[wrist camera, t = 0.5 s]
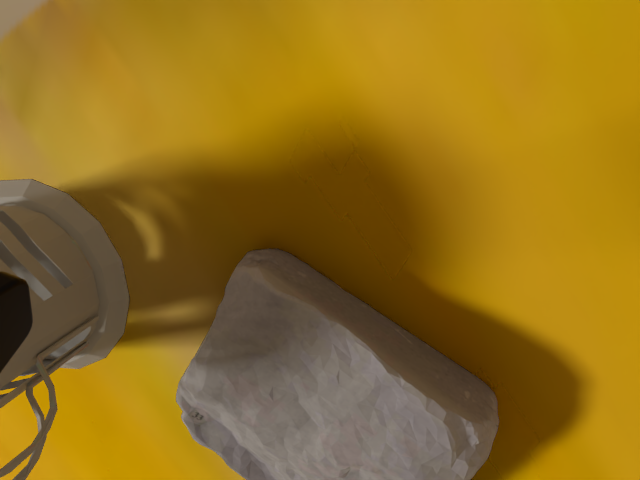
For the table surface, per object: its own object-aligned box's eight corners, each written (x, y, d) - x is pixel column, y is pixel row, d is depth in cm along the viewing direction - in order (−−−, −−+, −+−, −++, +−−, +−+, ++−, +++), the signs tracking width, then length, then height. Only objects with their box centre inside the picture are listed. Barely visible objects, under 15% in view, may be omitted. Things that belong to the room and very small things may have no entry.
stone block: (403, 500, 30) (525, 382, 24) (369, 589, 26) (504, 476, 20) (205, 359, 31) (274, 214, 25) (145, 424, 27) (209, 272, 21)
